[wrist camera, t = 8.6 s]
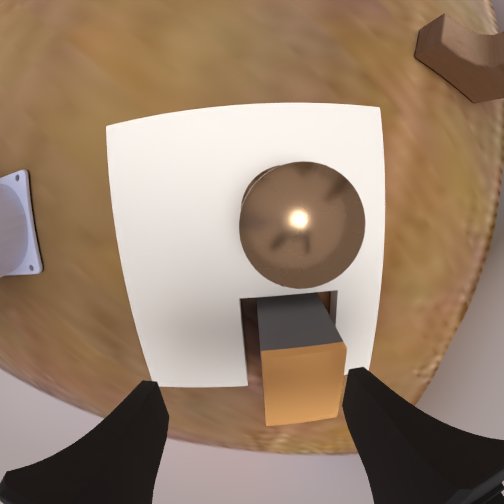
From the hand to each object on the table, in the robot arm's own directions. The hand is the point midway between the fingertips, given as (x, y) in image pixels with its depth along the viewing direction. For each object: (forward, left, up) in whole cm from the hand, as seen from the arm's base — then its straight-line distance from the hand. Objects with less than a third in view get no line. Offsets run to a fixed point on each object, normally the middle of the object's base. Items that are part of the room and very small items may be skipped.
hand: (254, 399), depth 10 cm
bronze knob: (+2, +6, -8) cm, 10 cm away
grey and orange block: (+2, -3, -9) cm, 10 cm away
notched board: (0, +3, -9) cm, 10 cm away
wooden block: (+16, +17, -10) cm, 25 cm away
